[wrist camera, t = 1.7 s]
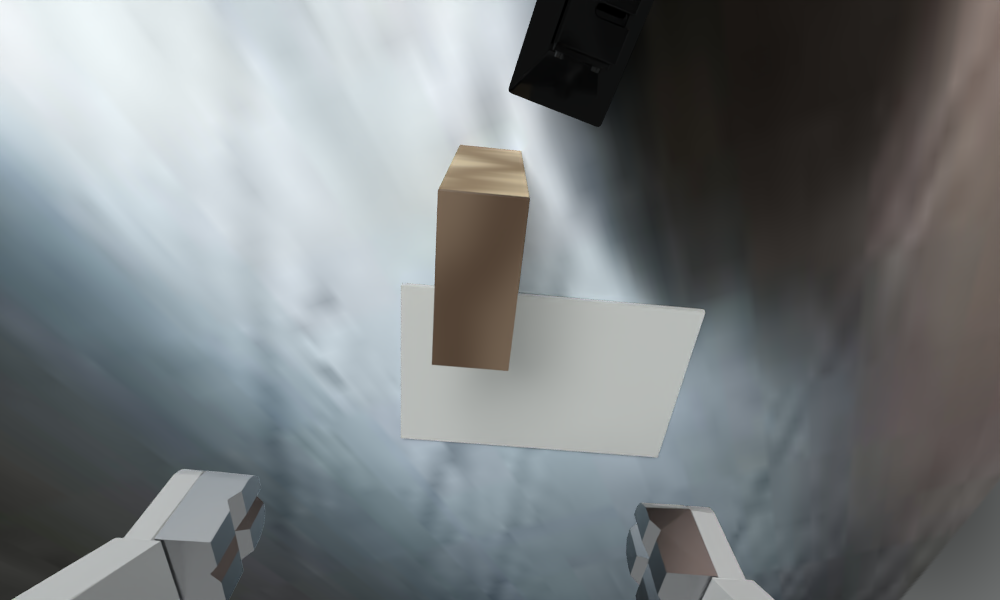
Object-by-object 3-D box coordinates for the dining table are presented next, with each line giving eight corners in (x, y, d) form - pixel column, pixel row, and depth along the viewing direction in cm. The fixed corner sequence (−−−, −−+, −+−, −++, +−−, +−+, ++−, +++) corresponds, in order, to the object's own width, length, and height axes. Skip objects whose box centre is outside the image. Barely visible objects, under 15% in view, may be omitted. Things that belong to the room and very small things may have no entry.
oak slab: (520, 150, 27) (529, 199, 18) (506, 277, 31) (508, 371, 22) (459, 145, 27) (437, 190, 18) (452, 273, 31) (431, 364, 22)
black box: (599, 156, 28) (615, 173, 24) (480, 112, 27) (476, 123, 23) (708, -98, 23) (753, -131, 19) (566, -165, 22) (580, -215, 18)
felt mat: (703, 309, 32) (705, 312, 32) (655, 453, 38) (657, 457, 38) (402, 282, 31) (401, 285, 31) (401, 434, 37) (400, 438, 37)
